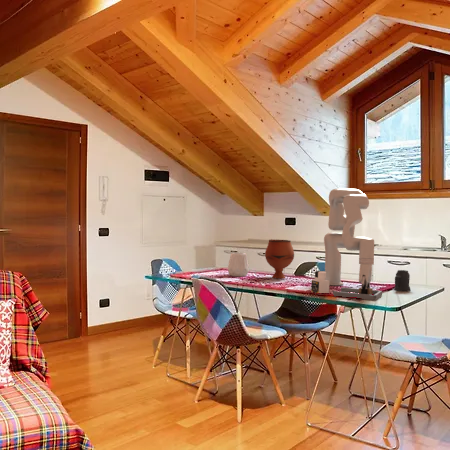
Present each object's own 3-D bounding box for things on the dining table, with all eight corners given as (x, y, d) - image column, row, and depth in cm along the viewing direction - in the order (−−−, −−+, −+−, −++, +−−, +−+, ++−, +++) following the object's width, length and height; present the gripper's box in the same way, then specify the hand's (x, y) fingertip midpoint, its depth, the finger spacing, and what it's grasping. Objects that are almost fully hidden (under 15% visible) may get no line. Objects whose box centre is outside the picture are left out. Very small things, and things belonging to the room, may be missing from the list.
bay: (333, 296, 263) (333, 291, 263) (341, 291, 278) (341, 287, 278) (375, 300, 253) (375, 295, 253) (382, 295, 267) (382, 291, 267)
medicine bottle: (311, 292, 275) (311, 270, 274) (321, 291, 278) (322, 270, 277) (318, 294, 268) (319, 272, 268) (329, 293, 271) (330, 271, 271)
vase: (249, 274, 342) (249, 252, 342) (248, 277, 328) (248, 254, 328) (229, 273, 344) (229, 251, 343) (226, 276, 330) (227, 253, 329)
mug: (398, 288, 293) (399, 269, 292) (413, 290, 286) (414, 270, 286) (388, 290, 285) (388, 270, 284) (403, 292, 278) (404, 272, 278)
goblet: (291, 280, 317) (292, 241, 316) (261, 278, 322) (262, 240, 321) (295, 276, 335) (296, 239, 334) (267, 275, 340) (267, 238, 339)
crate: (358, 296, 263) (358, 288, 263) (361, 295, 267) (361, 287, 267) (369, 298, 260) (370, 289, 260) (372, 296, 264) (372, 288, 264)
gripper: (362, 259, 272) (362, 292, 273) (355, 262, 257) (354, 297, 258) (377, 260, 268) (376, 294, 269) (370, 263, 253) (369, 298, 254)
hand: (365, 295), depth 263 cm, fingers closed on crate, 5 cm apart
